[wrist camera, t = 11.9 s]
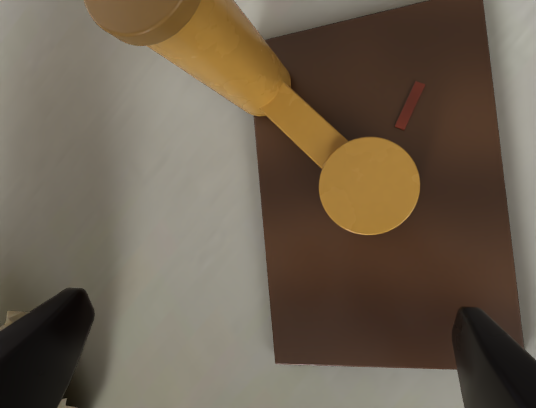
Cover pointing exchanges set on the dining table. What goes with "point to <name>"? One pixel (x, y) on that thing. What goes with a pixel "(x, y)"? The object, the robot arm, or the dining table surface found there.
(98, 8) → the yellow crank handle
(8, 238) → the dining table surface
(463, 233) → the plate
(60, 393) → the robot arm
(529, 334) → the dining table surface
